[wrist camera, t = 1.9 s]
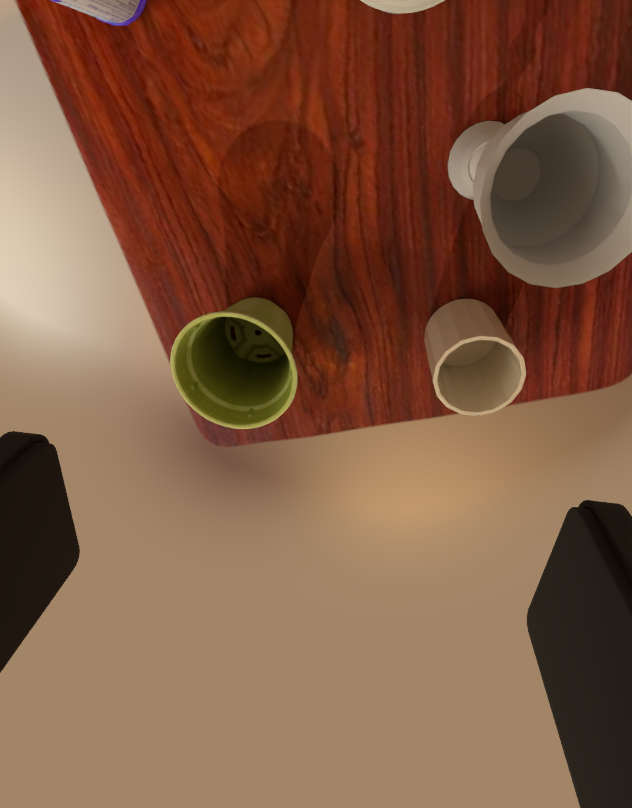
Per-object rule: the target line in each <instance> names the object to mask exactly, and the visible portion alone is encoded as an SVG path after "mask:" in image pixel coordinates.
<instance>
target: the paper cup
mask: <svg viewBox="0 0 632 808" xmlns="http://www.w3.org/2000/svg"><path fill="white" fill-rule="evenodd" d="M424 341H425V346H426V351H427V356H428V360H429V365H430V370H431V375H432V379H433V383H434V387H435V391H436V395H437V396H438V398H439V399H440V400H441V401H442V402H443V403H444V404H445V406H446V407H448V408H450V409H452V410H454V411H456V412H458V413H460V414H465V415H476V416H480V415H484V414H488V413H492V412H495V411H498V410H499V409H501V408H503V407H504V406H506V405H508V404H509V403H511V402H512V401H513V399H514V398H515V397H516V396H517V394H518V393H519V392H520V391H521V389H522V387H523V383H524V380H525V377H526V368H525V363H524V358H523V356H522V354H521V353H520V351H519V349H518V348H517V346H516V345H515V343H514V341H513V340H512V338H511V336H510V335H509V333H508V331H507V330H506V328H505V327H504V325H503V323H502V322H501V320H500V318H499V317H498V316H497V314H496V313H495V312H494V310H493V309H492V308H491V307H489V306H488V305H487V304H485V303H483V302H481V301H478V300H474V299H459V300H454V301H452V302H449V303H447V304H445V305H443V306H442V307H440V308H439V309H438V310H437V311H436V312H435V313H434V314H433V315H432V316H431V318H430V320H429V321H428V323H427V326H426V329H425V338H424Z"/></svg>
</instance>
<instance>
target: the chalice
mask: <svg viewBox="0 0 632 808" xmlns="http://www.w3.org/2000/svg"><path fill="white" fill-rule="evenodd" d="M448 173H449V178H450V180H451V183H452V185H453V187H454V188H455V189H456V190H457V191H458V192H459V193H460V195H462V196H464V197H466V198H468V199H471V200H474V206H475V209H476V212H477V214H478V217H479V219H480V221H481V224H482V230H483V232H484V235H485V237H486V240H487V242H488V245H489V247H490V250H491V252H492V254H493V255H494V256H495V257H496V259H497V260H498V261H499V262H500V263H501V264H502V265H503V267H504V268H505V269H506V270H507V271H508V272H509V273H511V274H513V275H514V276H516V277H518V278H520V279H522V280H524V281H525V282H527V283H529V284H533V285H539V286H546V287H552V288H559V287H565V286H571V285H577V284H583V283H585V282H587V281H589V280H591V279H593V278H595V277H597V276H600V275H602V274H604V273H606V272H608V271H610V270H611V269H612V268H613V267H615V266H616V265H617V264H618V263H619V262H620V261H622V260H623V259H624V258H625V257H626V256H627V255H628V254H630V253H631V252H632V101H631V100H629V99H627V98H626V97H624V96H623V95H621V94H619V93H617V92H610V91H603V90H596V89H590V88H586V89H581V90H577V91H573V92H569V93H565V94H560V95H556V96H554V97H552V98H550V99H549V100H547V101H545V102H544V103H542V104H541V105H539V106H537V107H536V108H534V109H533V110H531V111H529V112H526V113H523V114H521V115H519V116H518V117H516V118H515V119H513V120H511V121H510V122H508V123H506V124H503V123H501V122H496V121H484V122H481V123H477V124H475V125H473V126H471V127H470V128H468V129H466V130H465V131H464V132H463V133H462V134H461V135H460V136H459V138H458V139H457V140H456V141H455V143H454V145H453V147H452V149H451V151H450V155H449V161H448Z"/></svg>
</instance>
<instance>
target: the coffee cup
mask: <svg viewBox="0 0 632 808" xmlns="http://www.w3.org/2000/svg"><path fill="white" fill-rule="evenodd" d="M361 1H362V2H364V3H366V4H367V5H369V6H371V7H374V8H376V9H379V10H382V11H384V12H387V13H392V14H402V13H411V12H417V11H421V10H425V9H428V8H430V7H433V6H435V5H437V4H439V3H441V2H443V1H445V0H361Z"/></svg>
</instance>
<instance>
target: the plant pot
mask: <svg viewBox="0 0 632 808" xmlns="http://www.w3.org/2000/svg"><path fill="white" fill-rule="evenodd" d="M231 326H233V327H234V330H235V336H236V339H237V340H236V341H235V340H233V338H232V336H231V332H230V329H231ZM256 330H260V331H261V334H260V335H256V334H255V331H256ZM292 340H293V328H292V324H291V321H290V319H289V317H288V315H287V314H286V313H285V312H284V311H283V310H282V309H281V308H280V307H278V306H277V305H276V304H274V303H273V302H272V301H270V300H267V299H264V298H258V297H252V298H247V299H243V300H241V301H239V302H237V303H236V304H234V305H232V306H231V307H229V308H228V309H226V310H224V311H220V312H213V313H209V314H205V315H203V316H200V317H198V318H196V319H195V320H193V321H192V322H190V323H189V324H188V325H186V326H185V327H184V328H183V330H182V331H181V332H180V333H179V335H178V336H177V338H176V340H175V342H174V344H173V347H172V351H171V359H170V363H171V371H172V375H173V379H174V381H175V384H176V387H177V388H178V390H179V392H180V394H181V395H182V397H183V398H184V399H185V400H186V402H187V403H188V404H189V405H190V406H191V407H192V408H193V409H194V410H195V411H196V412H198V413H199V414H200V415H201V416H203V417H204V418H206V419H208V420H210V421H212V422H214V423H216V424H219V425H222V426H226V427H230V428H236V429H250V428H256V427H260V426H263V425H266V424H268V423H270V422H272V421H274V420H275V419H277V418H278V417H280V416H281V415H282V414H283V413H284V412H285V411H286V409H287V408H288V407H289V406H290V404H291V402H292V401H293V398H294V396H295V392H296V388H297V379H298V375H297V367H296V363H295V360H294V357H293V355H292ZM257 354H262V355H265V354H271V356H270V357H267V358H259V357H257Z"/></svg>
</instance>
